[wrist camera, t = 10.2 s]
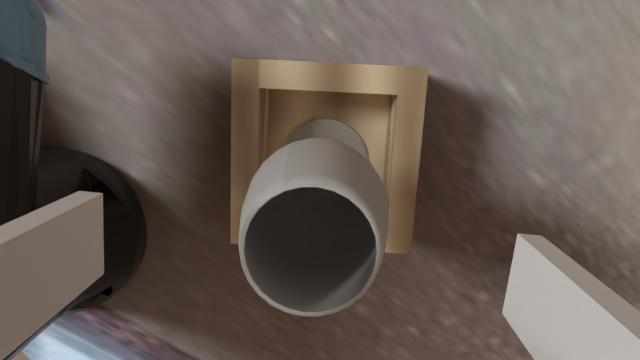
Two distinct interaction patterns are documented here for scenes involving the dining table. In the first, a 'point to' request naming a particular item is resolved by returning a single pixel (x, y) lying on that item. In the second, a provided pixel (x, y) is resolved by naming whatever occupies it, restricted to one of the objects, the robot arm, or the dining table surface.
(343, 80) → the tan wooden open box
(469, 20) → the dining table surface
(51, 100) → the dining table surface
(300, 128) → the wineglass
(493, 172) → the dining table surface
